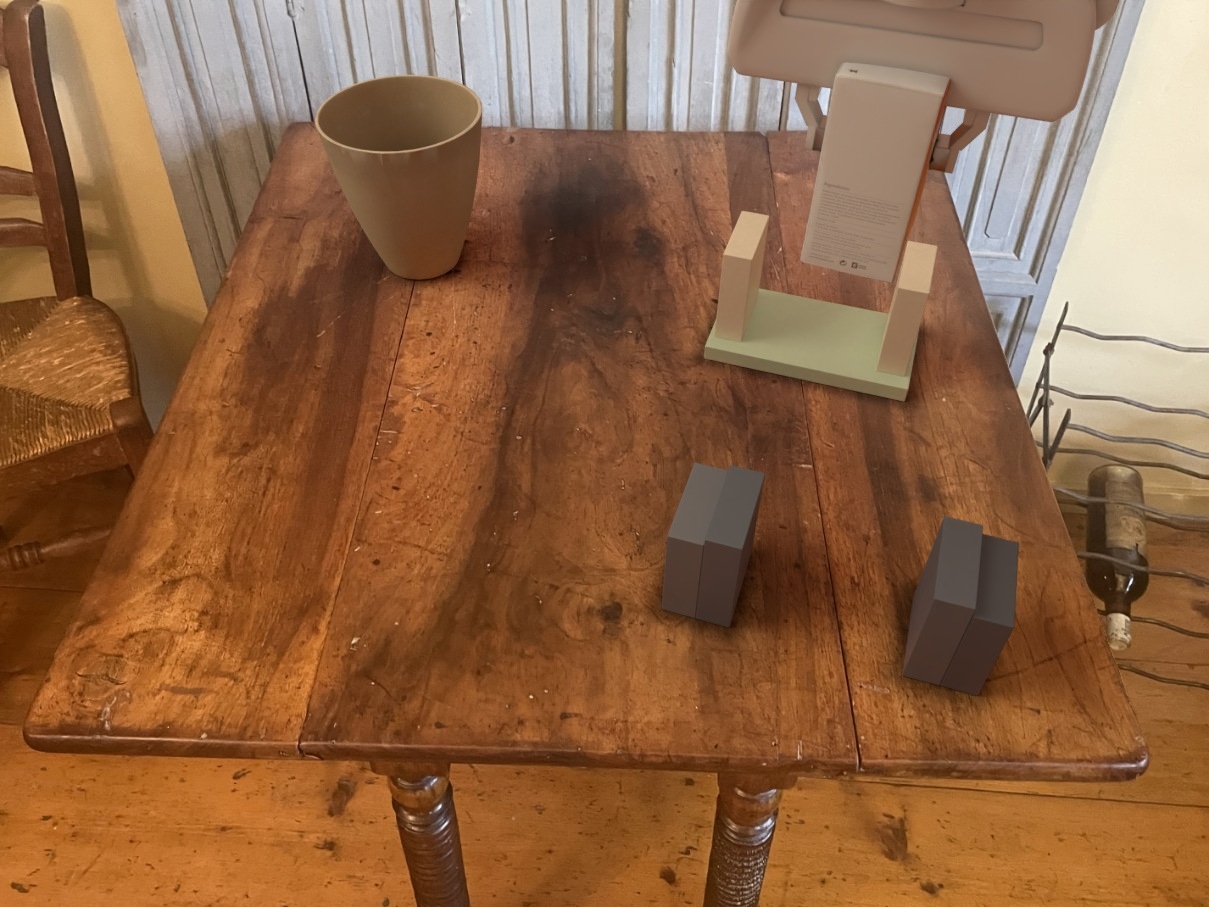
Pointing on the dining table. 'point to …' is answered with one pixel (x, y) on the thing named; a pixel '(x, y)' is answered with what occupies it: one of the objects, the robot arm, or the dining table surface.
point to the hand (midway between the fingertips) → (877, 157)
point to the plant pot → (407, 166)
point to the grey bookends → (942, 603)
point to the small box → (873, 167)
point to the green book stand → (817, 322)
